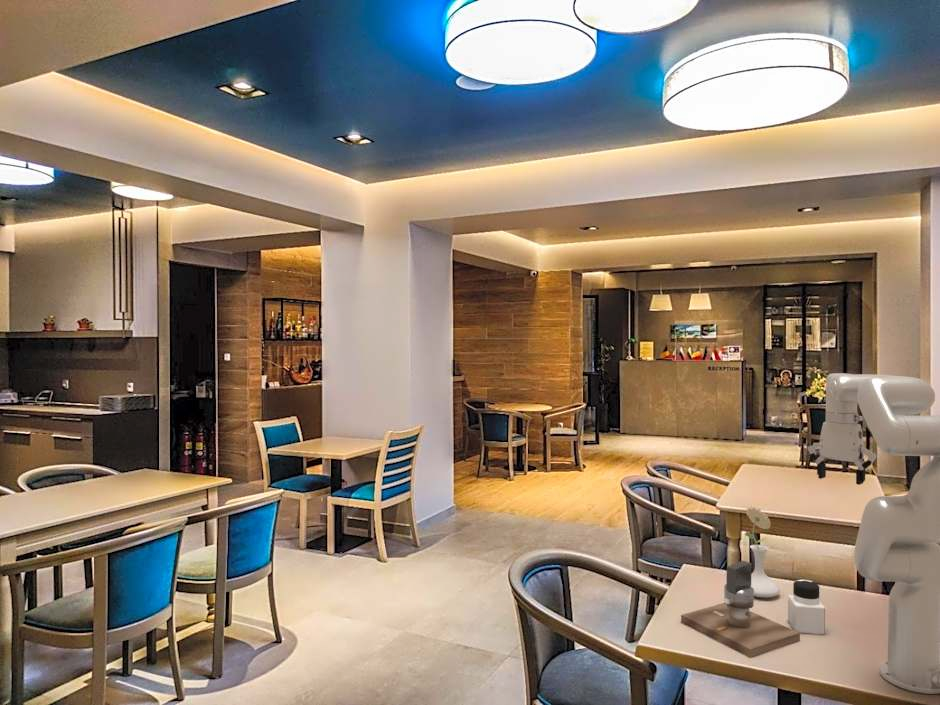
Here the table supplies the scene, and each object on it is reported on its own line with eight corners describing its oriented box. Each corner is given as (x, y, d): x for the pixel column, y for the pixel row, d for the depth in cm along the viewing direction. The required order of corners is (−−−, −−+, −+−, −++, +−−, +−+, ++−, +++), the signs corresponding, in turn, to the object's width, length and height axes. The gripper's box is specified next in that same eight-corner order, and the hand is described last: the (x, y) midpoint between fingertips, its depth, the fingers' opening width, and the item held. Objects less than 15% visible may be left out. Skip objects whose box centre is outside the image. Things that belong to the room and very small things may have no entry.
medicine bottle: (825, 635, 169) (825, 588, 169) (795, 632, 171) (795, 586, 171) (816, 623, 176) (816, 578, 176) (787, 620, 178) (787, 576, 178)
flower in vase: (788, 600, 191) (788, 514, 190) (749, 602, 190) (750, 515, 190) (764, 583, 204) (765, 502, 203) (728, 584, 203) (729, 503, 203)
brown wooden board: (799, 640, 166) (800, 613, 166) (750, 657, 158) (750, 628, 158) (728, 608, 186) (728, 583, 186) (681, 622, 177) (681, 596, 177)
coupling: (734, 595, 177) (734, 558, 176) (759, 603, 171) (759, 565, 171) (714, 604, 171) (714, 566, 171) (739, 613, 165) (739, 573, 165)
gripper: (881, 420, 178) (880, 484, 178) (814, 414, 191) (813, 473, 191) (871, 423, 173) (870, 488, 173) (802, 416, 186) (802, 477, 187)
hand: (840, 480), depth 182 cm, fingers open, 9 cm apart
